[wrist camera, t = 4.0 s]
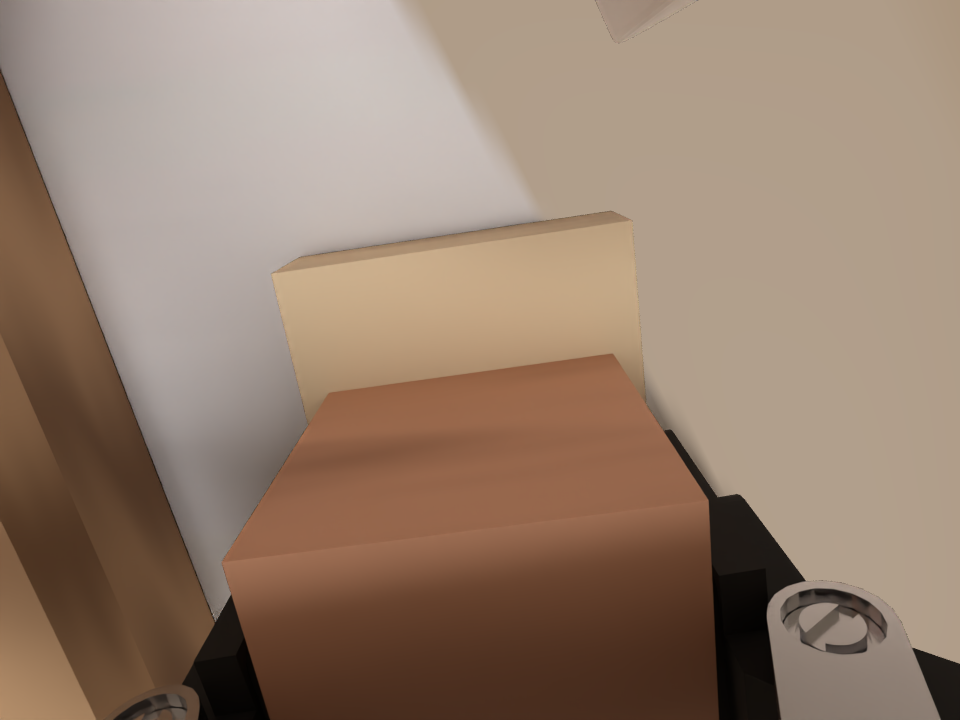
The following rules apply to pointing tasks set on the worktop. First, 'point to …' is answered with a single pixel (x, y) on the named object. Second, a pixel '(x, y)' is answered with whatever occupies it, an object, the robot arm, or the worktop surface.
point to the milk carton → (636, 15)
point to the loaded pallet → (477, 493)
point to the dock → (75, 488)
